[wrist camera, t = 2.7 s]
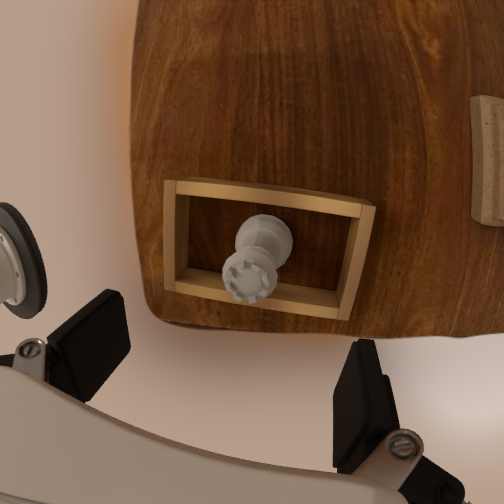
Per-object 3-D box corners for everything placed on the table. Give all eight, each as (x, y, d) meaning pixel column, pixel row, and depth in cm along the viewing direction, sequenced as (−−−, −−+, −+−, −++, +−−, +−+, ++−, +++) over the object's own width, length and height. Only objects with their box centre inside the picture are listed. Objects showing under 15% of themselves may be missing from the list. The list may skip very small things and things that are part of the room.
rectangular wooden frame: (178, 275, 26) (164, 289, 23) (180, 175, 23) (163, 179, 20) (344, 302, 24) (348, 321, 21) (367, 199, 21) (376, 206, 18)
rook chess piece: (234, 214, 23) (201, 247, 16) (290, 210, 22) (283, 242, 15) (241, 267, 25) (214, 317, 17) (294, 264, 24) (289, 317, 16)
